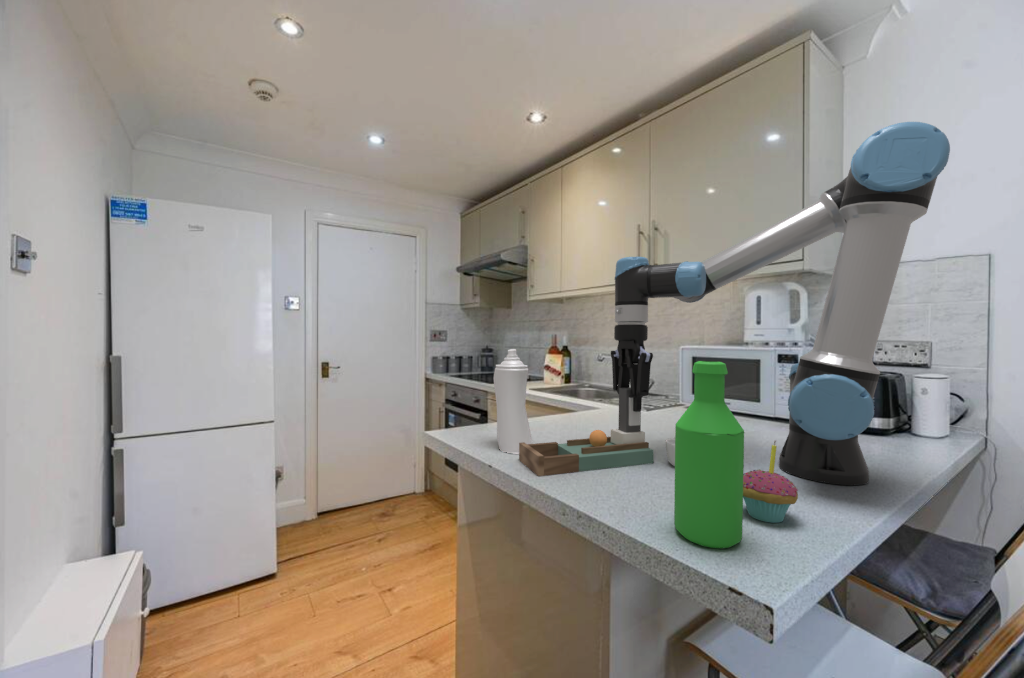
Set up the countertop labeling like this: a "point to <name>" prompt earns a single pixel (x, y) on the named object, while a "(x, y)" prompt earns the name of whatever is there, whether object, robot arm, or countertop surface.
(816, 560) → the countertop surface
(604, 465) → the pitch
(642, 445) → the rails
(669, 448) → the teacup
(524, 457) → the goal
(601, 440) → the ball
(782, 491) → the cupcake
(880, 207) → the robot arm
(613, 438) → the block
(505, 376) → the spray can
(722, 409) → the bottle
